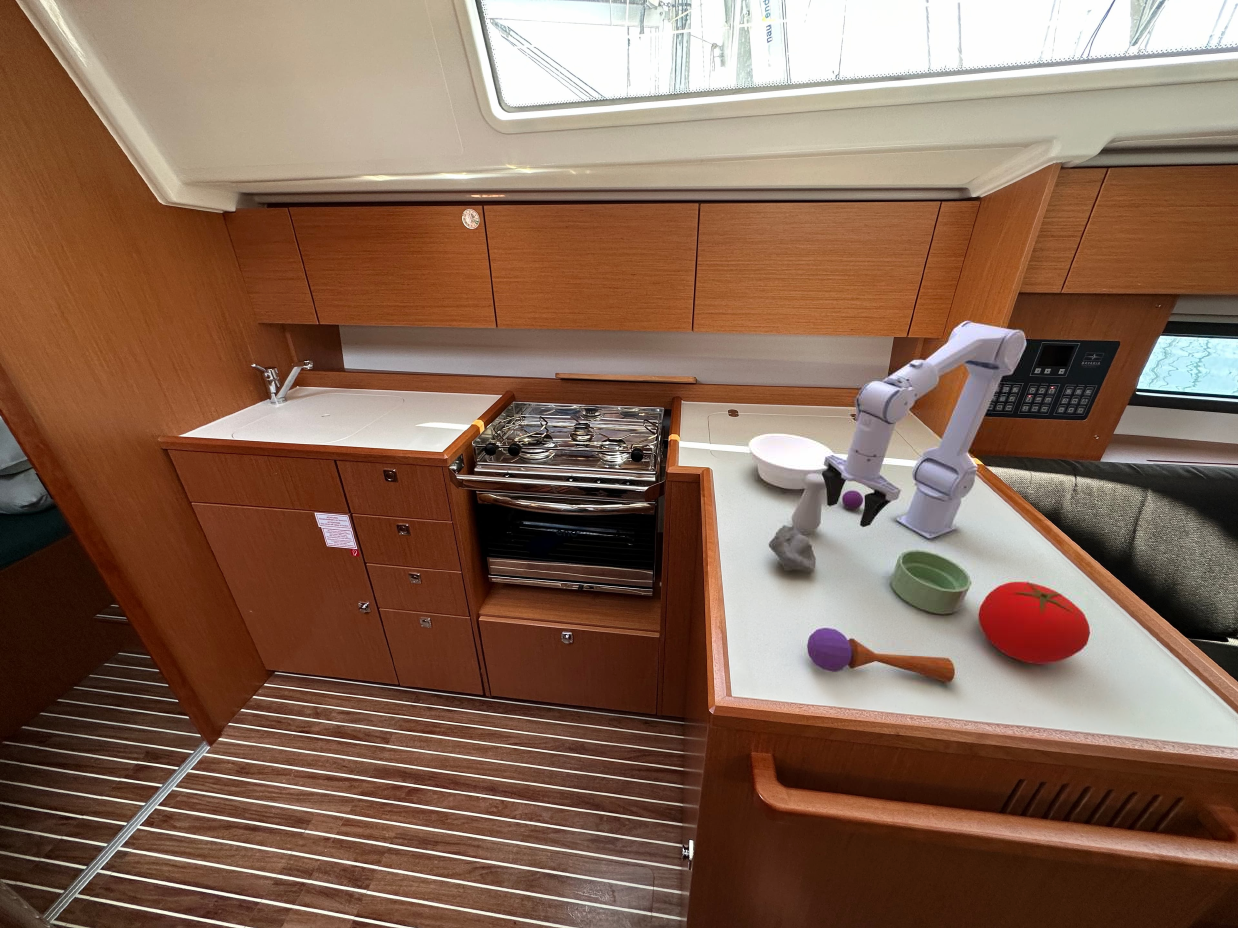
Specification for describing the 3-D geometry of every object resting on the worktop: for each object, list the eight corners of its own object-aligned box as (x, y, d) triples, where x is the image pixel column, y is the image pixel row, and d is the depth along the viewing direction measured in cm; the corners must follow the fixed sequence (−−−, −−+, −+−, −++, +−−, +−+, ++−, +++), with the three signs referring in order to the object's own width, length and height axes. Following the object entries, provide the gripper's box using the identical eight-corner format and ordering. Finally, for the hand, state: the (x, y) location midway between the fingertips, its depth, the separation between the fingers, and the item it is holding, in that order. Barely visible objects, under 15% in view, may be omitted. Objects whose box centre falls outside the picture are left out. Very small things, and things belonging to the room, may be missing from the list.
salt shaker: (819, 538, 99) (834, 485, 93) (791, 534, 100) (804, 481, 94) (815, 523, 104) (829, 471, 98) (788, 519, 105) (800, 468, 99)
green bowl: (914, 567, 92) (923, 544, 89) (972, 604, 83) (985, 580, 80) (876, 582, 87) (885, 559, 85) (934, 623, 78) (946, 599, 76)
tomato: (950, 625, 78) (976, 574, 73) (1009, 612, 82) (1037, 561, 76) (1022, 686, 68) (1058, 631, 63) (1086, 667, 71) (1124, 614, 66)
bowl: (818, 509, 109) (827, 478, 106) (732, 483, 119) (737, 454, 115) (834, 474, 125) (842, 446, 122) (757, 453, 135) (762, 427, 131)
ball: (848, 501, 113) (853, 485, 111) (864, 510, 110) (869, 494, 108) (835, 505, 111) (840, 489, 109) (851, 514, 108) (856, 498, 106)
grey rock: (815, 589, 85) (825, 554, 81) (763, 578, 87) (771, 543, 83) (812, 553, 94) (821, 520, 91) (766, 544, 97) (773, 511, 93)
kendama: (967, 679, 64) (819, 653, 65) (944, 699, 68) (805, 675, 69) (949, 640, 69) (812, 616, 70) (928, 661, 72) (798, 638, 73)
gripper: (819, 437, 87) (803, 500, 93) (889, 472, 76) (866, 540, 82) (845, 432, 90) (828, 493, 96) (917, 464, 78) (892, 531, 85)
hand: (847, 514), depth 89 cm, fingers open, 7 cm apart
